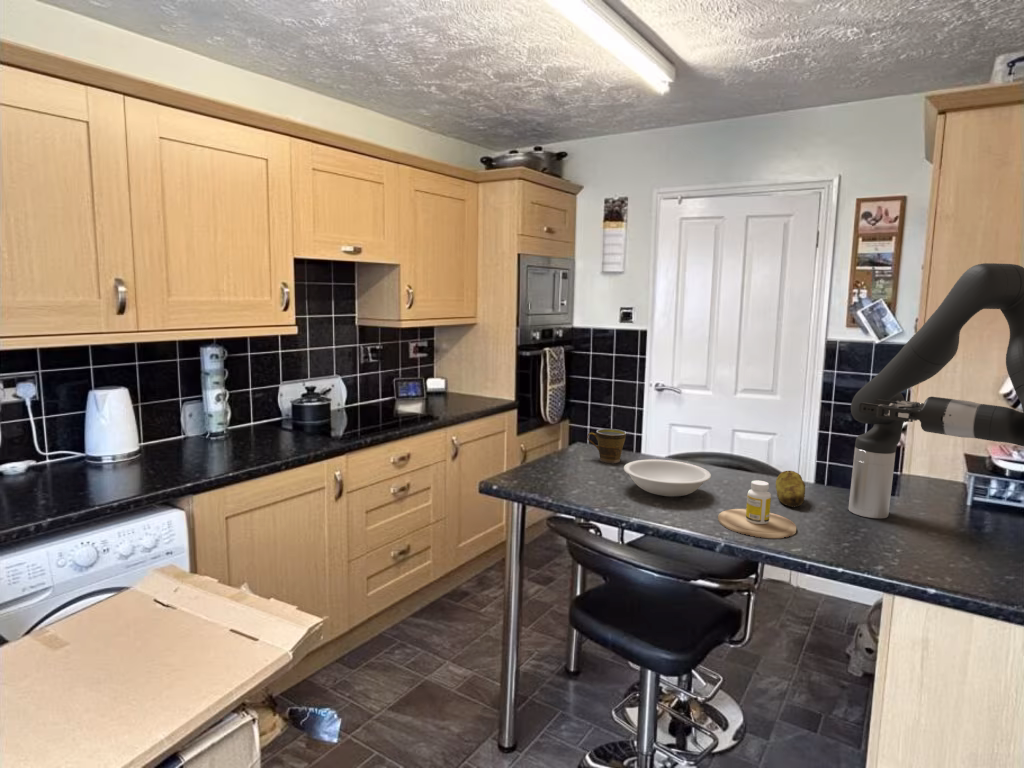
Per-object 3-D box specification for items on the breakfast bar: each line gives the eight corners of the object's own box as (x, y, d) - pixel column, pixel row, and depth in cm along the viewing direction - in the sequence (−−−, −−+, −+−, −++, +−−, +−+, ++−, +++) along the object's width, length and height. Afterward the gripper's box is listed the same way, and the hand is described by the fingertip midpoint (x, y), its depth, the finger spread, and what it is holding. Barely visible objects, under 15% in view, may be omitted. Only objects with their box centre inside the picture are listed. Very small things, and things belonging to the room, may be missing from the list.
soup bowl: (616, 499, 169) (617, 476, 168) (629, 476, 191) (630, 455, 190) (708, 511, 161) (710, 487, 160) (710, 486, 184) (711, 464, 183)
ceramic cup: (624, 457, 214) (625, 429, 212) (625, 465, 204) (627, 435, 203) (586, 455, 215) (587, 427, 214) (585, 463, 206) (587, 433, 204)
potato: (768, 505, 167) (771, 476, 166) (776, 493, 178) (779, 466, 177) (802, 511, 163) (805, 482, 162) (808, 498, 174) (811, 471, 173)
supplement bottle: (763, 517, 155) (766, 479, 154) (772, 525, 150) (776, 486, 148) (741, 516, 155) (745, 479, 153) (750, 524, 150) (753, 485, 148)
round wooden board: (742, 507, 165) (743, 504, 165) (809, 527, 151) (810, 524, 151) (703, 521, 154) (703, 517, 154) (772, 544, 140) (772, 540, 140)
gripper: (965, 396, 131) (882, 386, 143) (942, 402, 122) (856, 391, 134) (961, 431, 132) (878, 418, 144) (938, 439, 123) (852, 425, 135)
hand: (867, 405), depth 139 cm, fingers open, 8 cm apart
